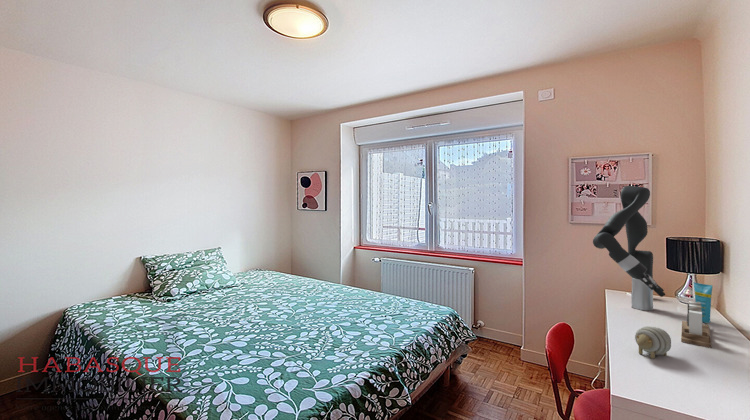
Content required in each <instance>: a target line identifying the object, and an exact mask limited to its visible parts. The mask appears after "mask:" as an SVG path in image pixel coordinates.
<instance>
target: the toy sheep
mask: <svg viewBox="0 0 750 420" xmlns="http://www.w3.org/2000/svg"><path fill="white" fill-rule="evenodd" d="M634 340H635V342H636V344H637V347H638V354H639V355H643V351H644V352H646V353H648V354H650V359H653V360H654V359H655V357H656V356H657V355H658V356H660V355H663V356H667V353H668V352H669V351H670V350H671V347H672V337H671V336H670V335H669V333H668V332H667V331H666V330H665V329H662V328H660V327H656V326H643V327H641V328H639V329H638V330H637V331H636V332H635V335H634Z"/></svg>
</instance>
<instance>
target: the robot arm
mask: <svg viewBox="0 0 750 420" xmlns="http://www.w3.org/2000/svg"><path fill="white" fill-rule="evenodd" d="M650 197H651V191H650V189H649V188H647V187H643V186H635V185H625V186H623V187H622V189H621V190H620V202H621V206H622V209H621V210H619V211H617V212H615V213H613V214H612V215H611V216H610V217H609V218H608V220H606V222H605V223H604V225H603V226H602V228H601V229H600V230H599V231H598V233H596V235H595V236H594V237H593V239H592V244H593V246H594V247H595V248H597V249H599V250H602V249H606V250H607V251H608V255H609V257H610V258H611V260H613V261H614V262H615V263H616V264H617V265H618V266H619V267H620V268H621V269H622V270H623V271H624V272H625V273H626V274H628V275H629V277H631V295H630V296H631V308H632V309H633V308H634V309H636V310H641V311H650V312H651V311H654V292H655V293H656V294H657V295H658V296H659V297H660V298H663V297H665V296H666V292H664V289H663V288H662V287H661V286H660V285H659V284H658V283H657V282H656V281H655V280H654V277H653V276H654V275H653V274H654V273H653V272H654V271H653V270H654V269H653V268H654V267H653V266H654V254H653V252H652V251H650V250H639V249H638V250H637V249H636V248H637V246H638V245H639V244H640V243H641V242H643V240H644V239H645V238H646V237H647V236H648V233H649V231H648V222H647V221H646V219H645V218H644V216H643V215H642V214H641V213H640V212H639V211H640V209H642V208H643V207H644V205H645V204H647V203H648V201H649V200H650ZM624 226H625V232H626V233H625V234H626V239H627V250H626V249H625V248H623V247H622V245H621V244H620V243H619V242H620V241H618V240H617V239H616V237H615V236H616V235H618V234H619V233H620V232H621V230H622V229H623V228H624Z"/></svg>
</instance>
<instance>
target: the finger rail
mask: <svg viewBox="0 0 750 420" xmlns="http://www.w3.org/2000/svg"><path fill="white" fill-rule="evenodd" d="M689 310H691V311H697V312H701V303H700V302H695V301H693V300H691V301H690V300H689V301H688V303H687V313H688V314H689ZM710 333H711V332H710V328H709V325H708V324H705V323H704V324H703V323H702V336H701V335H696V334H691V333H689V326H687V321H686V320H681V337H680V339H681V340H680V341H681V342H682V343H685V344H691V345H697V346H701V347H704V346H705V347H706V348H709V347H710V348H711V349H712V339H711V338H712V337H711V334H710Z"/></svg>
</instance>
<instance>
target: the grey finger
mask: <svg viewBox="0 0 750 420" xmlns="http://www.w3.org/2000/svg"><path fill="white" fill-rule="evenodd" d="M686 315H687V317H686V320H687V326H689V333H691V334H696V335H701V336H702V324H703V322H702V312H697V311H691V310H689V314H688V312H687V314H686Z"/></svg>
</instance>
